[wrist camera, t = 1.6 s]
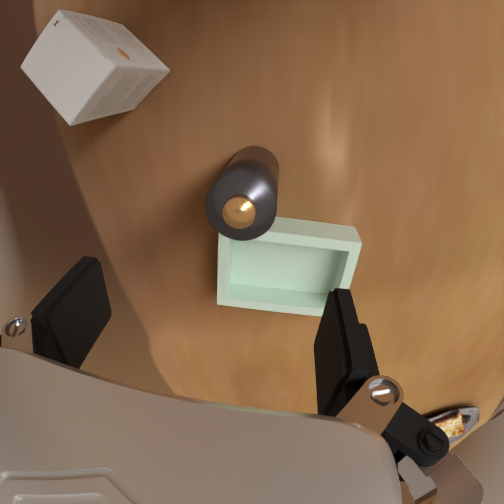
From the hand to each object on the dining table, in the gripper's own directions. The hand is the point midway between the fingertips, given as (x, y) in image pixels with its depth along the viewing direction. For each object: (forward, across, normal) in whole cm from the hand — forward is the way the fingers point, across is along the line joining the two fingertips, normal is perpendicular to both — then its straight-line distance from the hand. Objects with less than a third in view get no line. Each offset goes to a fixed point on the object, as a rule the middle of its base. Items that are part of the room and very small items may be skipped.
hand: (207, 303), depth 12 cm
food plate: (+20, -45, +49) cm, 70 cm away
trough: (+19, -4, +8) cm, 21 cm away
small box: (+19, +13, -11) cm, 25 cm away
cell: (+19, 0, -1) cm, 19 cm away
